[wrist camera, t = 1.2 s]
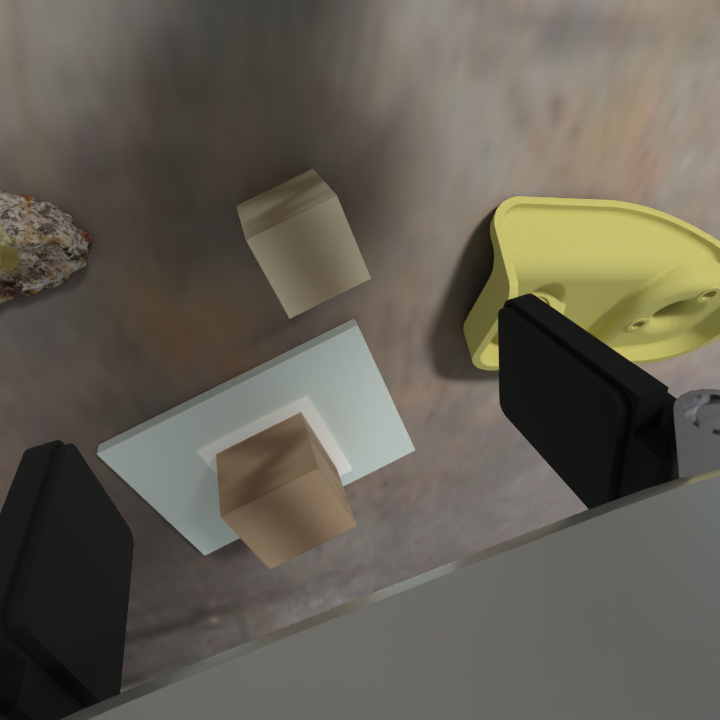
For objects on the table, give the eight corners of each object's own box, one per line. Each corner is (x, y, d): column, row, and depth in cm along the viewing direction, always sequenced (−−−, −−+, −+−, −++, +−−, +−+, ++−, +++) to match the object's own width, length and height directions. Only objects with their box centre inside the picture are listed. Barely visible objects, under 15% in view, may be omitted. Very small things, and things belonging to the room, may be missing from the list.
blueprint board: (353, 318, 36) (358, 326, 35) (411, 442, 44) (416, 451, 43) (98, 444, 36) (96, 456, 35) (204, 546, 44) (204, 557, 43)
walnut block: (301, 411, 38) (318, 468, 33) (336, 468, 42) (356, 526, 37) (215, 454, 38) (220, 517, 33) (260, 506, 42) (269, 569, 37)
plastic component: (462, 371, 39) (521, 282, 30) (440, 293, 43) (486, 194, 34) (687, 362, 43) (793, 283, 35) (648, 292, 47) (735, 205, 38)
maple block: (312, 168, 30) (337, 195, 25) (344, 241, 33) (371, 278, 28) (235, 205, 30) (245, 240, 25) (274, 275, 33) (289, 318, 28)
